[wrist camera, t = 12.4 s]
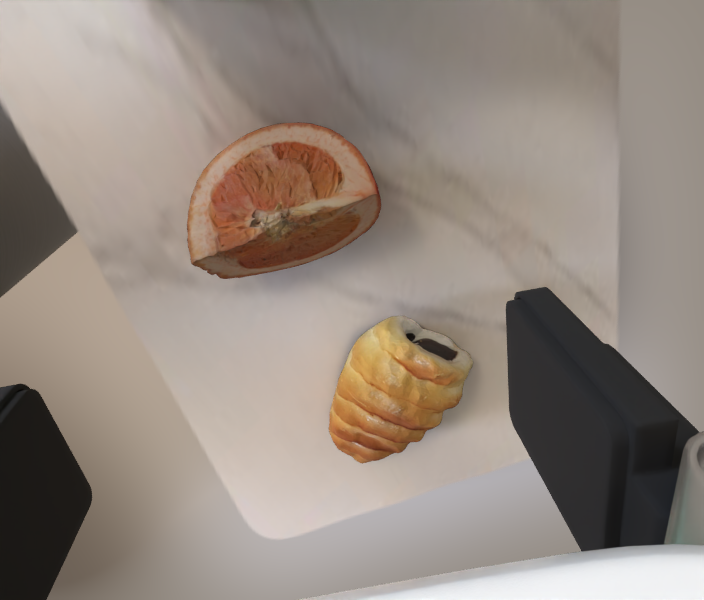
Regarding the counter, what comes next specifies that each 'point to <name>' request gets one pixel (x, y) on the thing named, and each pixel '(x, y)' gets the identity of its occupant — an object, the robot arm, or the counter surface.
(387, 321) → the pastry
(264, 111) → the counter surface
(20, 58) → the counter surface
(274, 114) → the counter surface
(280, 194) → the fruit slice
